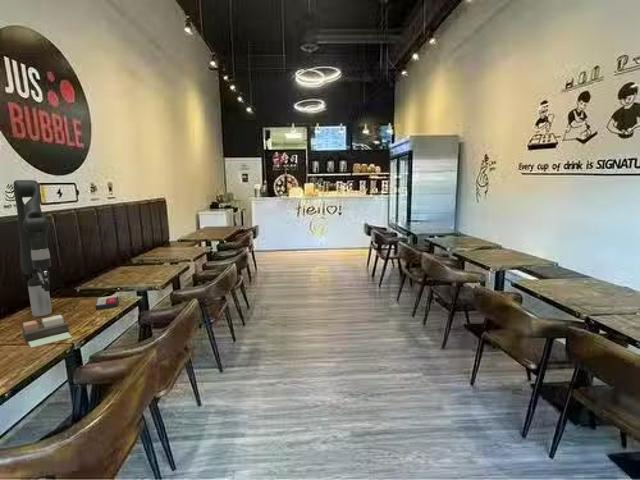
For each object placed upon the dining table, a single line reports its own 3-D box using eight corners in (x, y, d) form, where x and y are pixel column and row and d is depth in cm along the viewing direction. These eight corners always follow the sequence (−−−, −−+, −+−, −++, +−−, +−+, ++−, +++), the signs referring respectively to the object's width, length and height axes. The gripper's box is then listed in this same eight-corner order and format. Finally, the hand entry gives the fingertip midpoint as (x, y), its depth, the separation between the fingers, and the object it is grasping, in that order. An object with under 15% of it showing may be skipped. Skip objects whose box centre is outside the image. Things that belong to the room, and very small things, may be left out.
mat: (28, 342, 187) (28, 341, 187) (68, 332, 198) (67, 332, 198) (31, 348, 181) (31, 347, 181) (72, 337, 191) (72, 336, 191)
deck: (23, 336, 196) (22, 328, 195) (63, 326, 207) (62, 318, 207) (26, 342, 187) (25, 334, 187) (69, 332, 198) (67, 324, 198)
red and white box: (95, 305, 231) (97, 297, 244) (96, 312, 232) (98, 303, 245) (116, 301, 235) (117, 294, 249) (117, 308, 236) (118, 300, 250)
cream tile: (42, 324, 199) (41, 318, 199) (61, 320, 205) (60, 314, 204) (44, 327, 195) (43, 321, 194) (63, 323, 200) (62, 317, 200)
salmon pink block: (23, 328, 194) (22, 322, 194) (36, 326, 198) (35, 320, 197) (25, 332, 190) (24, 326, 189) (38, 329, 193) (37, 323, 193)
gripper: (52, 258, 198) (57, 290, 200) (47, 255, 208) (51, 285, 211) (34, 261, 193) (39, 294, 195) (29, 257, 203) (34, 288, 206)
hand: (45, 289), depth 203 cm, fingers open, 7 cm apart
